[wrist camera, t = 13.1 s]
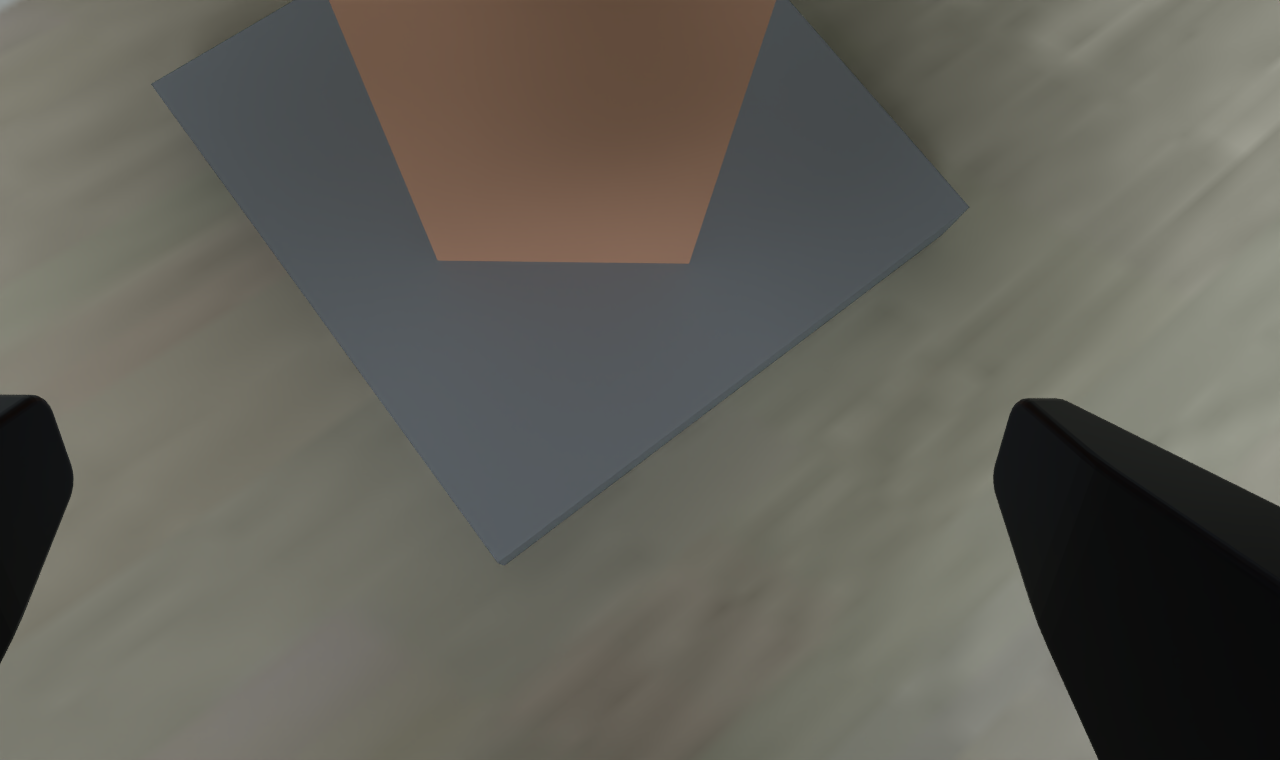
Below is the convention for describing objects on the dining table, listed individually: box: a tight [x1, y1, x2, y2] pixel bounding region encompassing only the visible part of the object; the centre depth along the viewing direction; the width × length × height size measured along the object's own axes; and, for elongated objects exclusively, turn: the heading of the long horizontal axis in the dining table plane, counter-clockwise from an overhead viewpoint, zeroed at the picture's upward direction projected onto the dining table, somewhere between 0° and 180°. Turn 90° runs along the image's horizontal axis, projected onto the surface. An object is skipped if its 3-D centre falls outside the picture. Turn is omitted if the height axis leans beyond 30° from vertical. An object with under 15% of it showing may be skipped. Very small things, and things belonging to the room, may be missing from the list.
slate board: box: [151, 0, 969, 565], centre depth 20 cm, size 12×12×2 cm
